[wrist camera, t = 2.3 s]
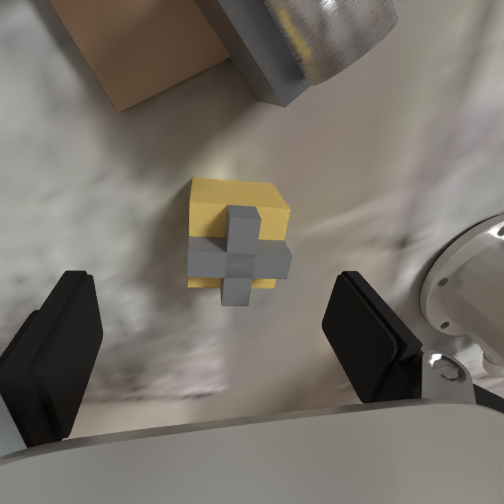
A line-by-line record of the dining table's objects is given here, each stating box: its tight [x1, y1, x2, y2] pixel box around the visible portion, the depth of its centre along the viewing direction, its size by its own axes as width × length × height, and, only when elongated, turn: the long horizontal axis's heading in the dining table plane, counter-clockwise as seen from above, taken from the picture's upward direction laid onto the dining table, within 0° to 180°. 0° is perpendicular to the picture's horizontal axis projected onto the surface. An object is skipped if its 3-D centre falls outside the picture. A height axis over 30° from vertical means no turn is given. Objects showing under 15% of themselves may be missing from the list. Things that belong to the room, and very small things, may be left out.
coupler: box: [187, 177, 292, 306], centre depth 16 cm, size 5×5×6 cm
